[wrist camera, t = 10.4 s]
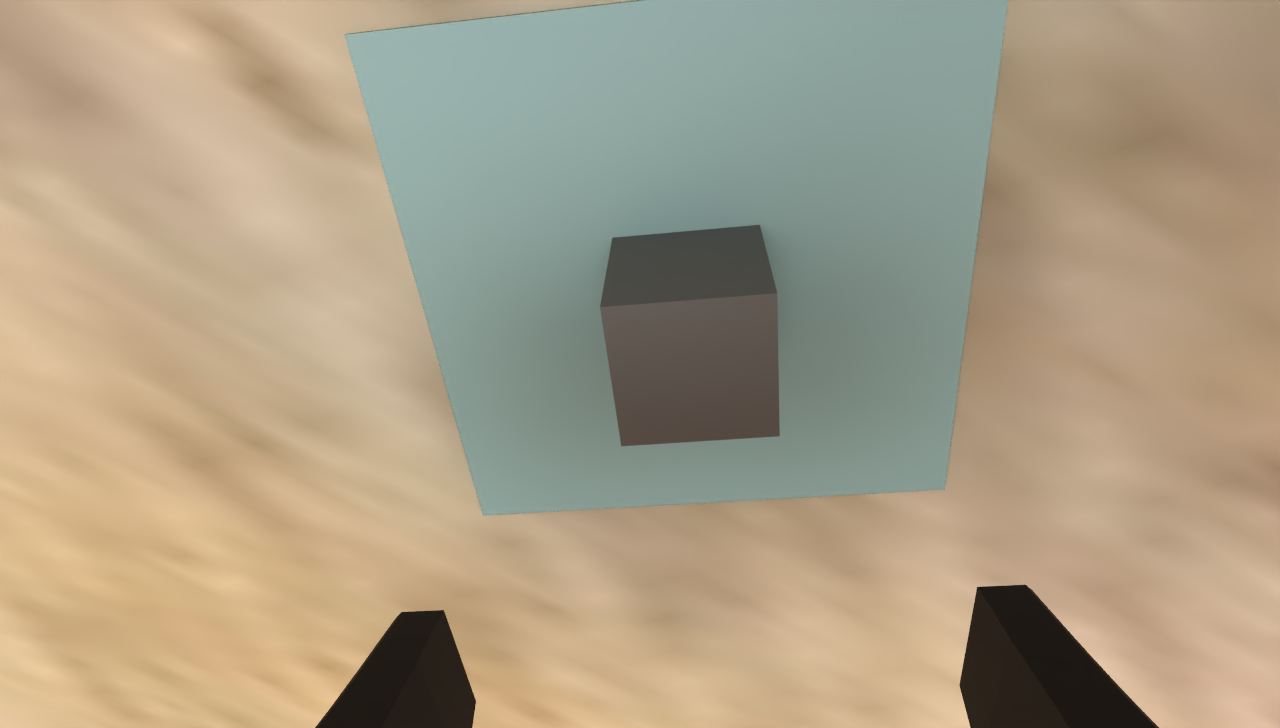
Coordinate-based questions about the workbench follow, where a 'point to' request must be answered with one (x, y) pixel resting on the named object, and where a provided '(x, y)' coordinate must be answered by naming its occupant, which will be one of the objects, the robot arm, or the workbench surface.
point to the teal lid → (693, 240)
